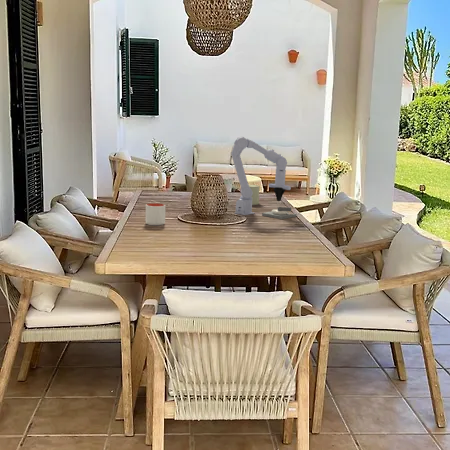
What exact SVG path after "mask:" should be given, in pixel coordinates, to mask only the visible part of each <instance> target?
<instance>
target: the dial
mask: <svg viewBox="0 0 450 450" xmlns="http://www.w3.org/2000/svg"><path fill="white" fill-rule="evenodd" d="M271 211H272V214H278V215H285V214H287V212H292V207H288V206H287V207H284V206H283V207H282V206H278V207H277V209H275V208H274V209H271Z"/></svg>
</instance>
